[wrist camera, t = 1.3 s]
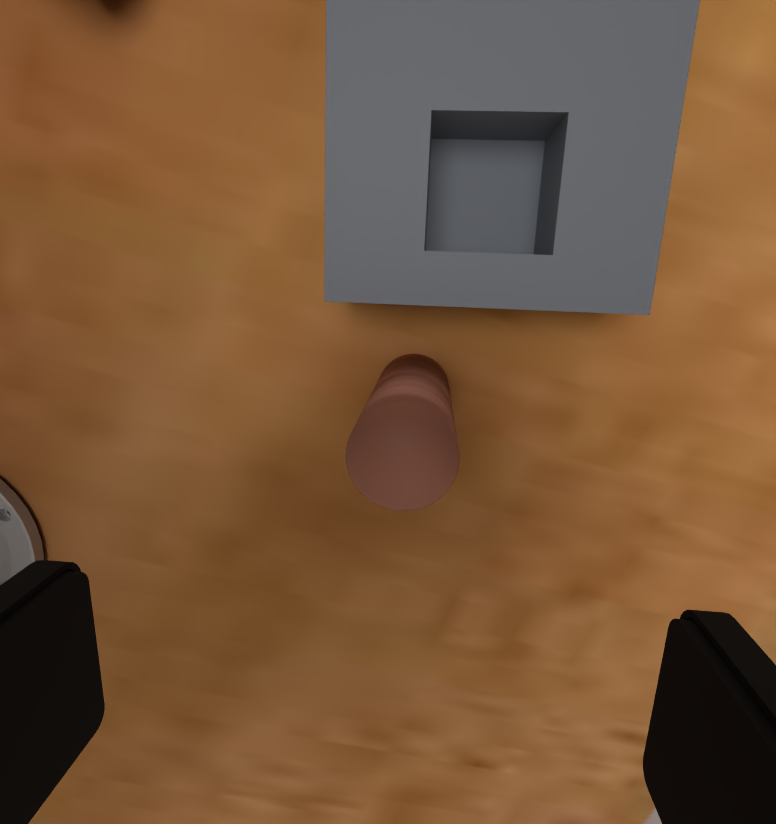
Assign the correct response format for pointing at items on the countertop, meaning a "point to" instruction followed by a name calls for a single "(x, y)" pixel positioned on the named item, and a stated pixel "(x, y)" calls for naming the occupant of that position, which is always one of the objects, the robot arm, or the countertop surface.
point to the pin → (405, 437)
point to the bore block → (501, 150)
